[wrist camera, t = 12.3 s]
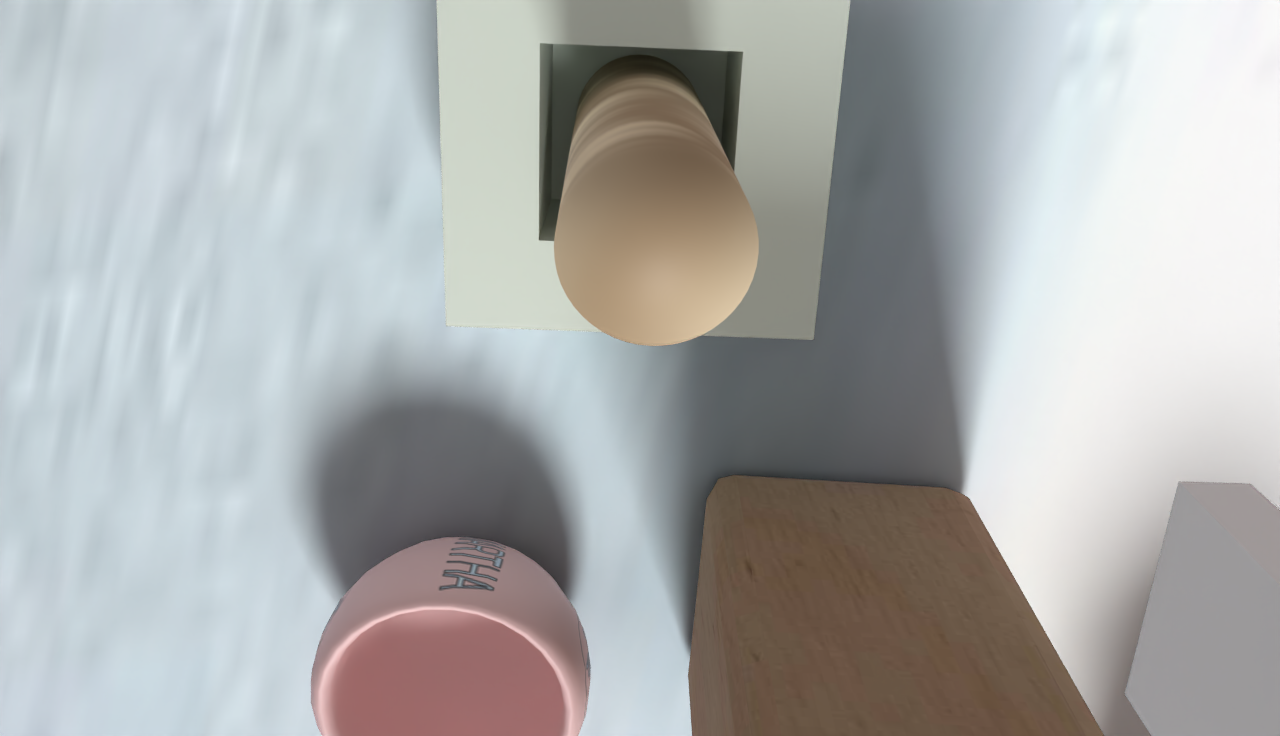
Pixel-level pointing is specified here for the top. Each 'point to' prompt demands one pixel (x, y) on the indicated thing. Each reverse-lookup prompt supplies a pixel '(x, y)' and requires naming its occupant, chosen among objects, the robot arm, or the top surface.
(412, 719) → the mug
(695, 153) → the birch peg
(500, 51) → the socket block
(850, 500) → the wooden block
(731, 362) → the top surface
